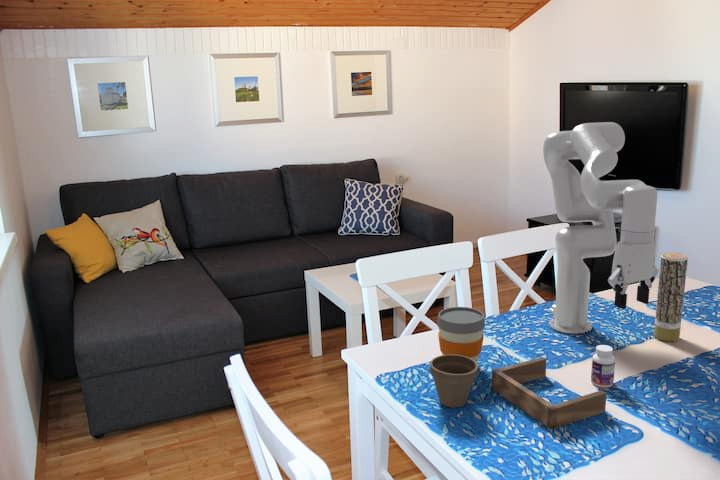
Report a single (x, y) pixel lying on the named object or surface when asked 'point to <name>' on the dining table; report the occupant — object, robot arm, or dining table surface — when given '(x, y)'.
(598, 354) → the pill bottle
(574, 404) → the box
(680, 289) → the brown upright cylinder piece
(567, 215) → the robot arm
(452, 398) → the flower pot
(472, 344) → the reusable coffee cup
